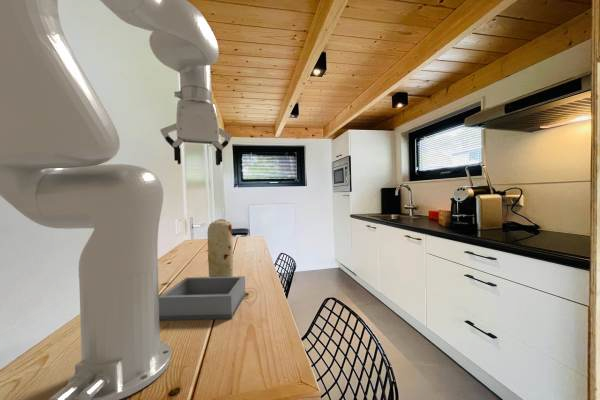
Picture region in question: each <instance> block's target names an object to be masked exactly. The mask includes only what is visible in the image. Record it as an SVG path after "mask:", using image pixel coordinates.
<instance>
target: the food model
mask: <svg viewBox="0 0 600 400" xmlns="http://www.w3.org/2000/svg"><path fill="white" fill-rule="evenodd" d="M206 234H207V262H208V265H207V266H208V277H234V276H233V275H234V243H233V228H232V223H231V222H230V221H229V220H227V219H222V218H221V219H216V220H214V221H212V222H211V223H210V224H209V225H208V227H207V233H206Z"/></svg>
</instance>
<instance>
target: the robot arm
mask: <svg viewBox="0 0 600 400" xmlns="http://www.w3.org/2000/svg"><path fill="white" fill-rule="evenodd" d="M99 1H100V2H102V4H103V5H104V6H105V7H107V9H109V10H110V11H111V12H112V13H113V14H114V15H115V16H116V17H118V18H119V19H120V20H121V21H123V22H124V23H126V24H129V25H130V26H133V27H136V28H140V29H141V30H146V31H148V32H149V31H150V32H151V34H150V35H149V38H148V41H149V42H148V43H149V46H150V49H151V51H152V53H153V55H154V56H155V58H156V59H157V60H158V61H159V62H160V63H161V64H163V65H164V66H166V67H167V68H169V69H171V70H173V71H176V72H178V73H179V86H180V90H177V91H174V98H177V99H178V100H177V106H176V118H175V119H176V123H173V124H171V125H167V126H165V127H163V128H160V133H161V135H162V136H163V138H164V140H165V141H166V142H167V144H169V145H170V146H171V147H172V148H173V155H174V161H175V162H177V165H181V163H182V161H181V160H182V156H181V148H180V146H181V145H182V144H183V143H187V144H188V143H189V144H190V143H191V144H205V145H210V144H211V145H213V147H214V148H215V149H216V150H215V152H214V153H215V165H216V166H220V165H221V163H223V150H224V149H225V147H227V146H228V144H229V142H230V141H231V139H232V137H233V136H232V134H231V133H229V132H227V131H225V130H223V129H221V127H219V120H218V114H217V113H218V112H217V109H216V105H215V104H214V103H213V99H212V98H213V96H212V73H211V71H212V70H211V66H212V65H214V64H216V63H217V62H218V59H219V56H220V55H219V54H220V51H219V44H218V41H217V38H216V36H215V34H214V32H213V30H212V28H211V27H210V24H209V23H208V22H207V20H206V18H205V17H204V15H203V14H202V13H201V11H200V10H199V9H198V8H197V7H196V6H194V4H192V3H191V2H190V1H188V0H99ZM58 3H59V2H58V0H0V197H1V198H2V199H3V200H5V201H6V203H8V204H9V205H11V206H12V207H13V208H14V209H15V210H17V211H18V212H19V213H20V214H22V215H23V217H25V218H28V219H29V220H31V221H32V222H33V223H36V224H38V225H40V226H42V227H47V228H52V229H62V230H63V229H67V230H69V229H71V230H72V229H75V230H76V229H93V231H92V233H91V235H90V236H89V238H88V240H87V242H85V244H84V247H83V249H82V251H81V253H80V257H79V261H78V279H79V280H78V282H79V284H78V285H79V289H78V290H79V315H80V317H79V318H80V348H81V349H80V350H81V353H80V354H81V361H79V362H77V363H76V364H75V365H74V373H73V375H72V376H71V377H70V379H69V380H68V382H67V385H65V386H64V387H62V388H61V389H60V390H58V391H57V392H56V393H55V394H54V395H52V396H51V397H50V398H48V399H47V400H121V399H122V400H123V399H124V398H126V397H129V396H131V395H134V394H135V393H137V392H139V391H141V390H142V389H144V388H145V387H147V386H149V385H150V384H151V383H153V382H155V381H156V380H157V379H158V378H159V377H160V376H161V375H162V374H163V373H164V372H165V370H167V368H168V366H169V365H170V363H171V360H172V349H171V347H170V345H169V344H168V343H166V342H164V341H161V338H160V337H161V336H160V335H161V333H160V331H161V330H160V327H161V326H160V320H159V296H160V295H159V290H160V289H159V265H158V264H159V262H158V239H159V237H158V236H159V226H160V220H161V214H162V209H163V203H164V189H163V185H162V182H161V181H160V179H159V177H158V176H157V175H156V174H155V173H153V172H152V171H150V170H149V169H147V168H145V167H141V166H139V165H132V164H123V163H122V164H121V163H120V164H119V163H118V164H116V163H115V164H114V163H113V164H111V163H110V164H107V162H108V161H111V160H112V159H113V158H114V157H115V156H116V155H117V154H118V151H119V149H120V144H121V142H120V137H119V134H118V131H117V129H116V126H115V124H114V122H113V120H112V118H111V117H110V115H109V113H108V111H107V110H106V107H104V105H103V103H102V101H101V99H100V97H99V96H98V94H97V93H96V91H95V88H94V87H93V85H92V84H91V82H90V80H89V78H88V77H87V75H86V73H85V72H84V70H83V68H82V66H81V64H80V62H79V61H78V58H77V57H76V56H75V54H74V52H73V50H72V48H71V46H70V44H69V42H68V40H67V38H66V35H65V33H64V30H63V27H62V25H61V19H60V16H59V6H58V5H59V4H58ZM171 132H176V136H177V137H176V139H175V140H174V139H173V138H172V137H171V135H169V133H171ZM220 137H224V140H223V142H222V143H221V142H220V141H219V139H220ZM105 163H106V164H105Z"/></svg>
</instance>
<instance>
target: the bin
mask: <svg viewBox="0 0 600 400" xmlns="http://www.w3.org/2000/svg"><path fill="white" fill-rule="evenodd" d="M245 296H246V276H244V275H243V276H241V275H240V276H239V275H237V276H233V277H209V276H203V277H200V276H199V277H185V278H184V279H182V280H180V282H178V283H176V284H175V285H174V286H173V287H171V288H169V289H168V290H166V291H165V292H164V293H162V294H161V295H159V321H186V320H189V321H192V320H194V321H195V320H199V321H200V320H233V317H234V316H235V314H236V312H237V310H238V309H239V307H240V306H241V303H242V302H243V300H244V298H245Z"/></svg>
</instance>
